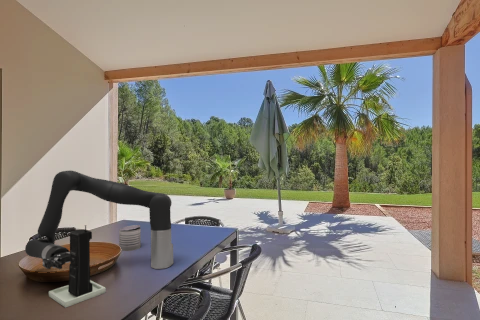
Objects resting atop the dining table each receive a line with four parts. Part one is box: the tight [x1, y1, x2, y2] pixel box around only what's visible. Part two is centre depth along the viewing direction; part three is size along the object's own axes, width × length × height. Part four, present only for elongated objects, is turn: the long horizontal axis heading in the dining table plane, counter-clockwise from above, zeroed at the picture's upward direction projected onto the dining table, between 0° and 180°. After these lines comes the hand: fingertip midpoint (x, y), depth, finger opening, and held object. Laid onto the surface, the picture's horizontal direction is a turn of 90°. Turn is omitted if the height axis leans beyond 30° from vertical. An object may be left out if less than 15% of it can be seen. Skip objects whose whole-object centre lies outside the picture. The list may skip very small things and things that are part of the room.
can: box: [118, 224, 142, 252], centre depth 167 cm, size 11×11×12 cm
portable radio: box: [68, 225, 93, 297], centre depth 110 cm, size 8×6×25 cm
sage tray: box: [48, 279, 107, 308], centre depth 110 cm, size 14×14×2 cm
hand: (73, 263), depth 111 cm, fingers open, 8 cm apart
